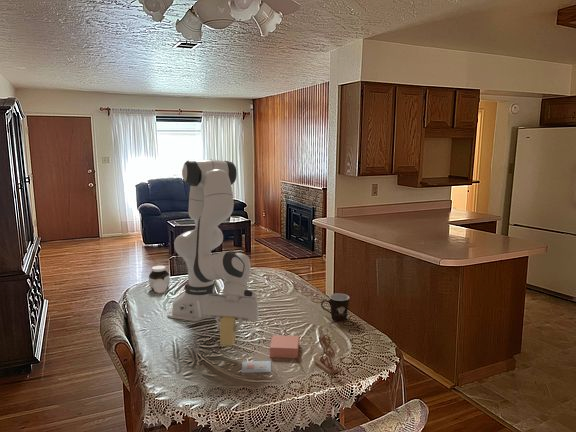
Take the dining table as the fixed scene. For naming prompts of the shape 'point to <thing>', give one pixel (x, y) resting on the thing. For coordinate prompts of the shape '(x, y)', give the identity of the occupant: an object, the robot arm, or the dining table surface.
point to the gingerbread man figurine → (322, 362)
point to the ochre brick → (227, 331)
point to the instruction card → (256, 366)
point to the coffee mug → (338, 306)
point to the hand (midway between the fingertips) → (227, 330)
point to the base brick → (284, 346)
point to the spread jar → (159, 279)
